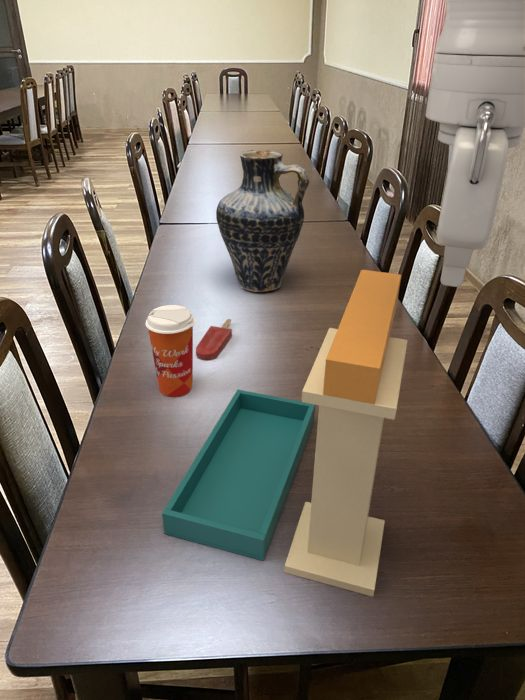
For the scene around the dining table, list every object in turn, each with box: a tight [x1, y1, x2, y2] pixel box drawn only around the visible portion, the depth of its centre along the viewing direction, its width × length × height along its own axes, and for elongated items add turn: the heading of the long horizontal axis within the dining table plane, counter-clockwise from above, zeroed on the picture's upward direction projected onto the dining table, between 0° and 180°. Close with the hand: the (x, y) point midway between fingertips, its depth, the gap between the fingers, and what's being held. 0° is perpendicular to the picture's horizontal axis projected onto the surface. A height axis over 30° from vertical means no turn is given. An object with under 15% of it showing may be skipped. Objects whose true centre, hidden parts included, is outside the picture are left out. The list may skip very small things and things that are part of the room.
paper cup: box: [145, 304, 197, 398], centre depth 88 cm, size 8×8×14 cm
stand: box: [283, 327, 408, 598], centre depth 57 cm, size 12×10×26 cm
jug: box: [215, 149, 310, 293], centre depth 121 cm, size 21×19×30 cm
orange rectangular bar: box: [323, 269, 402, 404], centre depth 52 cm, size 20×4×4 cm, turn 163°
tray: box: [161, 389, 316, 562], centre depth 73 cm, size 27×13×4 cm, turn 163°
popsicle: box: [195, 318, 233, 361], centre depth 105 cm, size 4×2×15 cm
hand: (453, 263), depth 49 cm, fingers open, 8 cm apart
